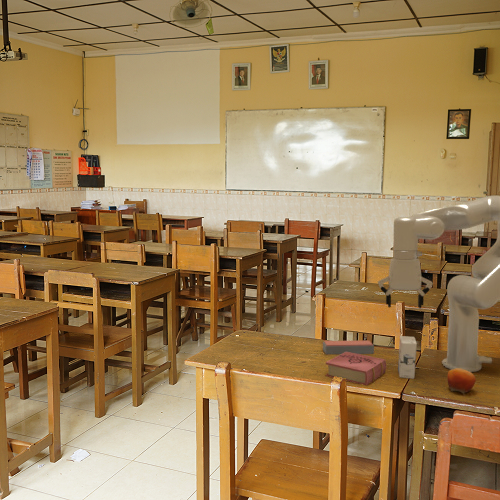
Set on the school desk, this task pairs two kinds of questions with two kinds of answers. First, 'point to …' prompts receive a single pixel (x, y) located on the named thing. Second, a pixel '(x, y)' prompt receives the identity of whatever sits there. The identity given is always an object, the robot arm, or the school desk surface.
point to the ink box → (407, 357)
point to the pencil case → (348, 347)
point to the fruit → (460, 380)
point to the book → (356, 367)
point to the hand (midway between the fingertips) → (404, 306)
